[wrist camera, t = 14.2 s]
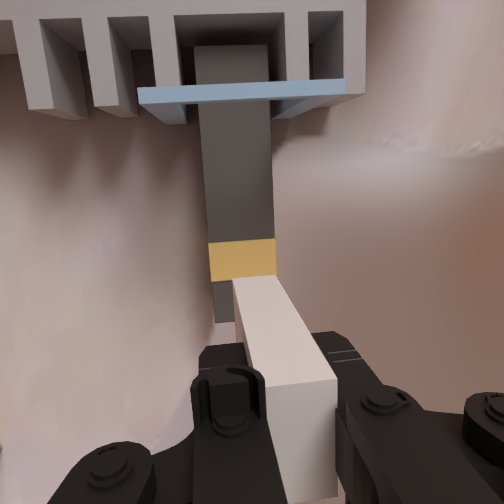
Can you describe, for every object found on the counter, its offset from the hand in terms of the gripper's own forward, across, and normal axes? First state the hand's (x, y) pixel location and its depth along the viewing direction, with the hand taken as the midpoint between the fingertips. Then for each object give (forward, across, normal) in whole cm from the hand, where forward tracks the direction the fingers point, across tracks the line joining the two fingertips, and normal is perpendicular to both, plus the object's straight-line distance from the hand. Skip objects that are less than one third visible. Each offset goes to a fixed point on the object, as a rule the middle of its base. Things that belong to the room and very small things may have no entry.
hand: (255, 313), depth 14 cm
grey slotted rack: (+15, -6, +11) cm, 19 cm away
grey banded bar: (+15, +1, +3) cm, 15 cm away
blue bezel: (+15, +1, +8) cm, 17 cm away
